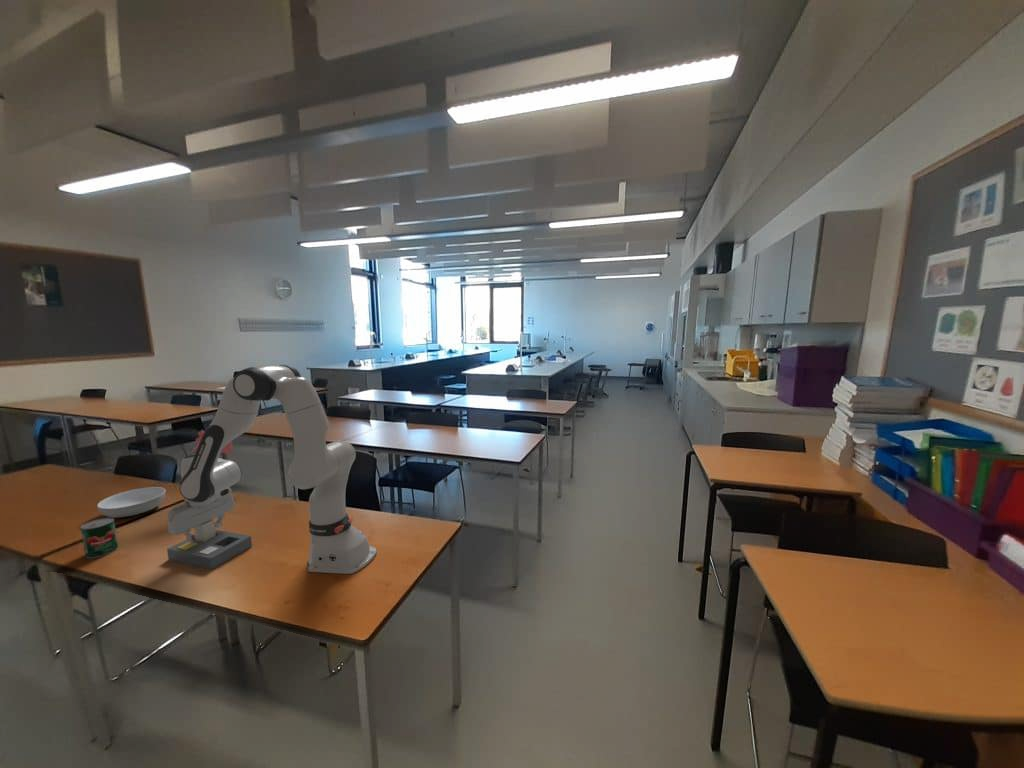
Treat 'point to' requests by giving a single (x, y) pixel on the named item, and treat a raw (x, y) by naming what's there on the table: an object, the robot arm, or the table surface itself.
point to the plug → (205, 531)
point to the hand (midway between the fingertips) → (205, 533)
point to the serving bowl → (132, 502)
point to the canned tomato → (99, 537)
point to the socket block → (210, 549)
